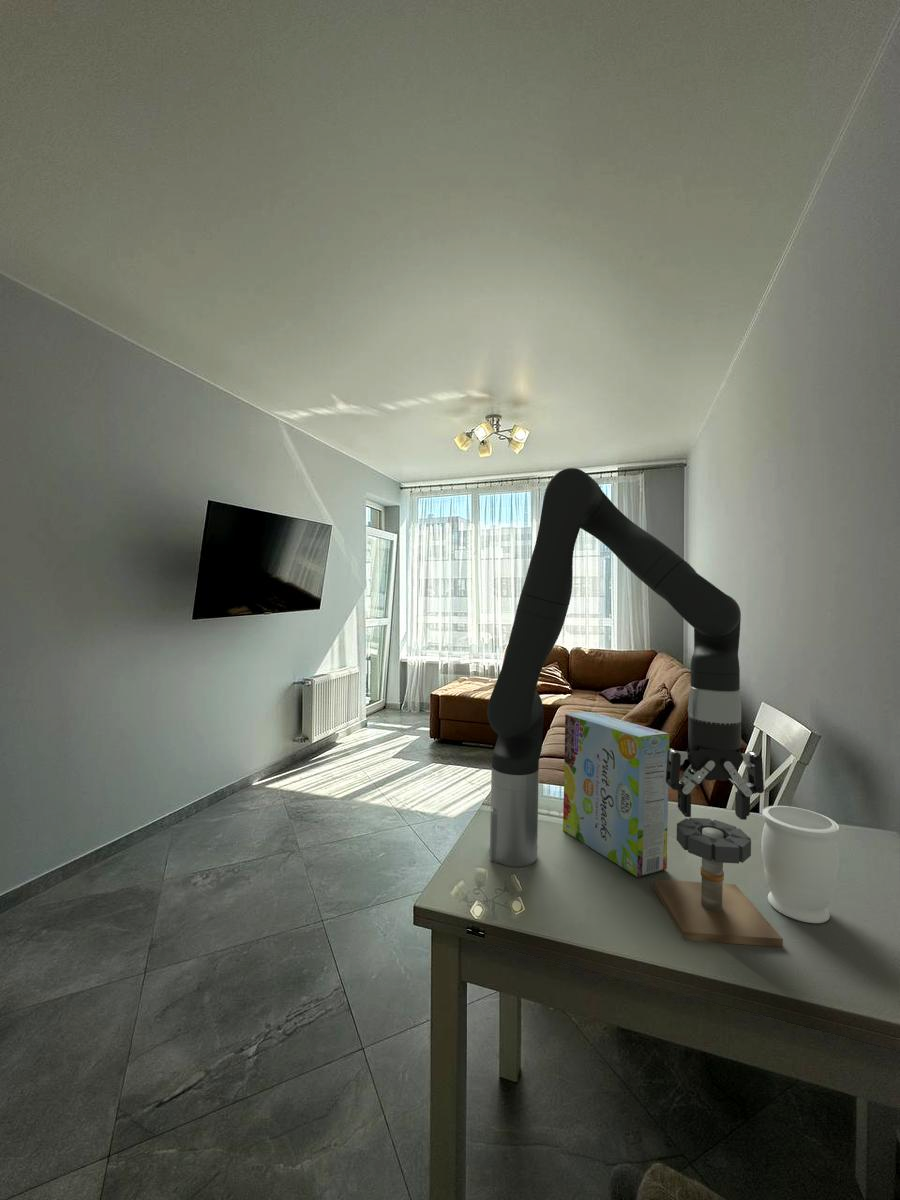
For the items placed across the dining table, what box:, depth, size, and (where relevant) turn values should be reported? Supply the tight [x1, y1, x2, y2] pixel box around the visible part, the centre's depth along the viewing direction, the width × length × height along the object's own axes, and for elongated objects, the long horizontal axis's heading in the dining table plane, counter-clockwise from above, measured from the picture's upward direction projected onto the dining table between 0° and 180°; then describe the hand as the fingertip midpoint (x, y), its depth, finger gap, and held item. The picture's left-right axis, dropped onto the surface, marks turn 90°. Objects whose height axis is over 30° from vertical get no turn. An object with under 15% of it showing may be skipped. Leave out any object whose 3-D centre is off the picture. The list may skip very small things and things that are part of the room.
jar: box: [760, 805, 840, 924], centre depth 82 cm, size 11×10×15 cm
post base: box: [652, 827, 784, 948], centre depth 80 cm, size 14×14×13 cm
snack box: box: [562, 711, 671, 878], centre depth 101 cm, size 22×9×26 cm, turn 26°
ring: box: [676, 817, 752, 864], centre depth 80 cm, size 10×10×2 cm
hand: (713, 816), depth 80 cm, fingers open, 8 cm apart
